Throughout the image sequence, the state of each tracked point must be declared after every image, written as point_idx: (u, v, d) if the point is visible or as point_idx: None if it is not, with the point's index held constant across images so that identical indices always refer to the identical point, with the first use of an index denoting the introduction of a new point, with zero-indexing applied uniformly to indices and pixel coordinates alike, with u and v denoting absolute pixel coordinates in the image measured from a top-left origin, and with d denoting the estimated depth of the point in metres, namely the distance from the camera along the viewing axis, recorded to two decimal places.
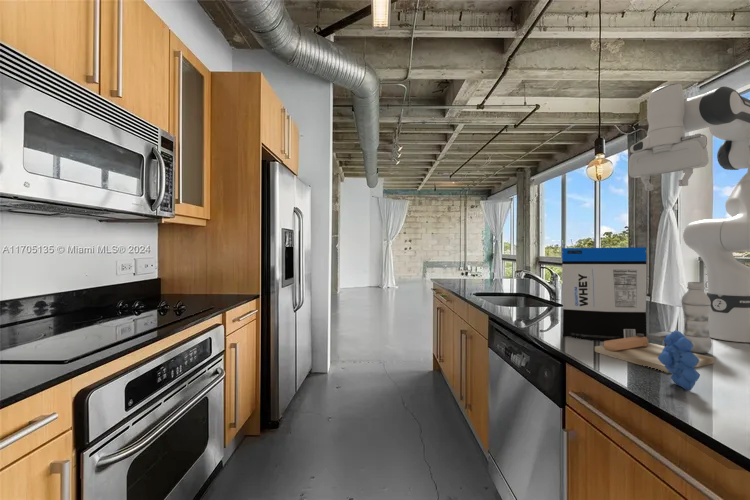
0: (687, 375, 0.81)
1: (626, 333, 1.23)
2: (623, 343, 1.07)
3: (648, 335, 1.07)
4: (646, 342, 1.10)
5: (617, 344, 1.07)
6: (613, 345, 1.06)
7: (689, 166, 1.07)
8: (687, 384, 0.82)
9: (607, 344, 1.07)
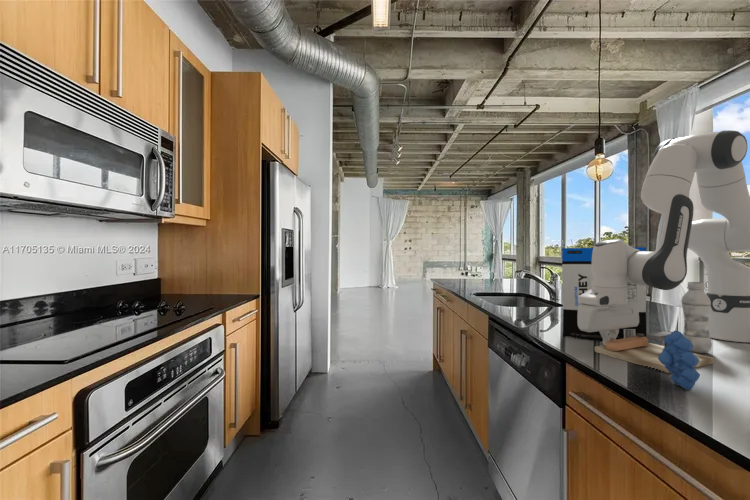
0: (687, 375, 0.81)
1: (626, 333, 1.23)
2: (624, 343, 1.07)
3: (648, 335, 1.07)
4: (646, 342, 1.10)
5: (618, 344, 1.06)
6: (614, 345, 1.06)
7: (632, 326, 1.11)
8: (687, 384, 0.82)
9: (608, 344, 1.07)
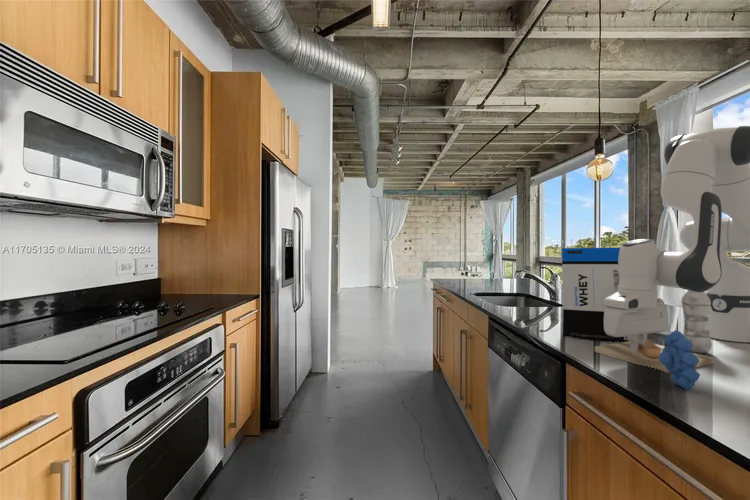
0: (687, 375, 0.81)
1: None
2: None
3: (648, 335, 1.07)
4: None
5: None
6: (660, 351, 1.00)
7: (661, 330, 1.05)
8: (687, 384, 0.82)
9: (656, 351, 0.99)
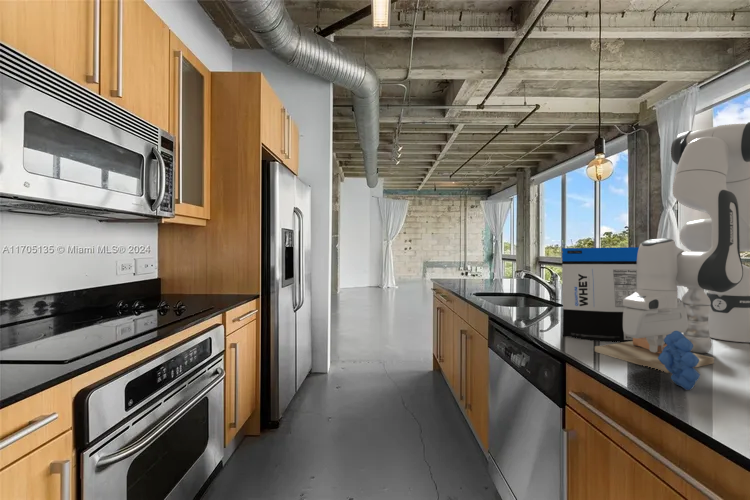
0: (687, 375, 0.81)
1: None
2: None
3: None
4: None
5: None
6: None
7: None
8: (687, 384, 0.82)
9: None
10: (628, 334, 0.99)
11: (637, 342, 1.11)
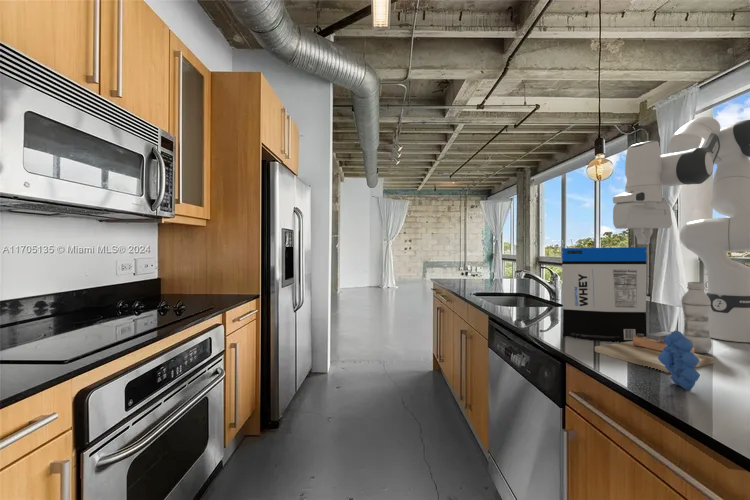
0: (687, 375, 0.81)
1: (626, 333, 1.23)
2: None
3: (648, 335, 1.07)
4: None
5: None
6: None
7: (665, 227, 1.14)
8: (687, 384, 0.82)
9: (693, 350, 1.00)
10: (618, 225, 1.10)
11: (640, 342, 1.11)
